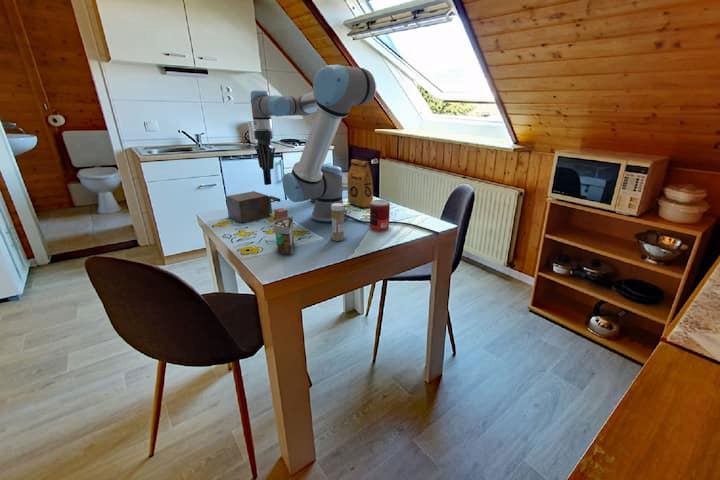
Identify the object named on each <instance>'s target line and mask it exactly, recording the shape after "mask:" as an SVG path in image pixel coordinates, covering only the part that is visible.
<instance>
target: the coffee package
mask: <svg viewBox="0 0 720 480" xmlns="http://www.w3.org/2000/svg"><path fill="white" fill-rule="evenodd" d="M350 163H351V164H350V167H349V170H348V173H347V174H346V175H347V203H348V204H351V205H355V206H357V207H360V208H363V209H365V208H368V207H370V202H371V201H373V200H374V185H373V176H372V172H371V168H370V165H369V162H368V161H366V160H365V161H364V160H360V159H351V160H350Z"/></svg>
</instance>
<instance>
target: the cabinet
mask: <svg viewBox="0 0 720 480" xmlns="http://www.w3.org/2000/svg"><path fill="white" fill-rule="evenodd" d="M268 196H269V195H267V194H265V193H261V192H258V191H255V190H253V191H247V192H241V193H236V194H231V195H230V194H229V195H226V196H225V199H226V207H227V214H228V218H230V219H231V220H234V221H236V222H238V223H240V224H245V223H249V222H254V221H257V220H260V219H265V218H270V217H271V214H269V203H268Z"/></svg>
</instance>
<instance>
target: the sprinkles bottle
mask: <svg viewBox="0 0 720 480" xmlns="http://www.w3.org/2000/svg"><path fill="white" fill-rule="evenodd" d="M343 204H344V203H343ZM343 204H342V203H334V204H332V205H331V210H332V223H331V231H332V235H331V239H332V240H333V241H336V242H341V241H343V240H345V234H344V233H345V223H344V222H345V220H344V219H343V210H344V207H345V204H344V205H343Z"/></svg>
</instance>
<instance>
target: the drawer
mask: <svg viewBox="0 0 720 480" xmlns="http://www.w3.org/2000/svg"><path fill="white" fill-rule="evenodd" d="M275 202H277V203H280V202H281V198H279V197H276V196H274V195H268V203H269V214H270V215H272V214H273V208H272V207H273V206H272V203H275Z"/></svg>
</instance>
